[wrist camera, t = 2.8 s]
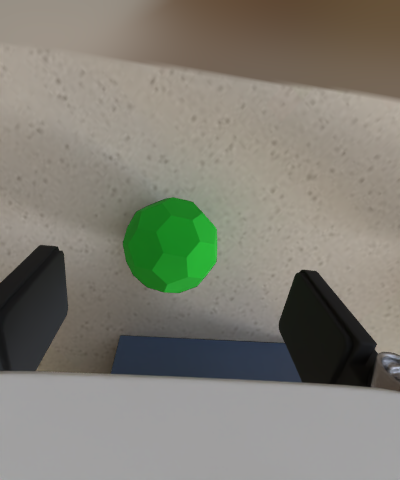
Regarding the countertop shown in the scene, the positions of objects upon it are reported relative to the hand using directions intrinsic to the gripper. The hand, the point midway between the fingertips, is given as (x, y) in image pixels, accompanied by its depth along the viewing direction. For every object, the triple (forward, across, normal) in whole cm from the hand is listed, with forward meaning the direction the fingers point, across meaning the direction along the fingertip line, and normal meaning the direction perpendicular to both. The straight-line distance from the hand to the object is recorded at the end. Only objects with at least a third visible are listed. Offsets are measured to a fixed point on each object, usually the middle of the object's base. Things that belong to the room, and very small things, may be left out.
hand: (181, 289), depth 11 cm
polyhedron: (+6, 0, 0) cm, 7 cm away
